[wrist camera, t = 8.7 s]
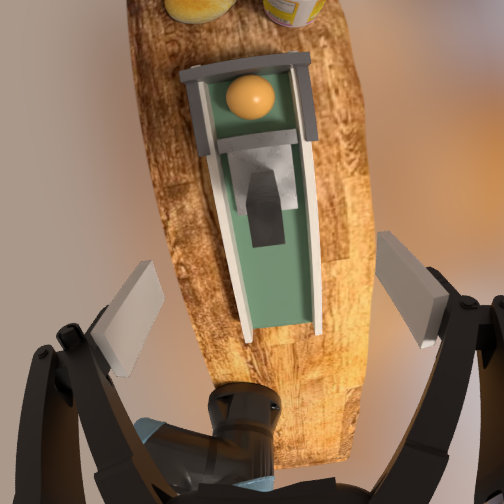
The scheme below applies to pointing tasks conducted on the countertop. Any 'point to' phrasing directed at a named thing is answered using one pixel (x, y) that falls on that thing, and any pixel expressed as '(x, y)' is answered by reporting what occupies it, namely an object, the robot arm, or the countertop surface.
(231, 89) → the ball
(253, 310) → the board
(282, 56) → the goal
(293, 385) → the countertop surface
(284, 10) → the supplement bottle
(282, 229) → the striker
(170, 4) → the bread roll
